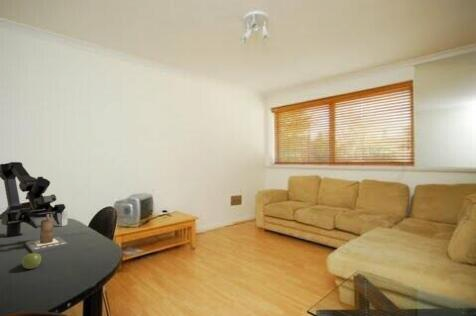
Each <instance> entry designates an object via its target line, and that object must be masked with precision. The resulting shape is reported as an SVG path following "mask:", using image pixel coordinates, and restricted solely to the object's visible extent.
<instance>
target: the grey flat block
mask: <svg viewBox="0 0 476 316" xmlns="http://www.w3.org/2000/svg"><path fill="white" fill-rule="evenodd" d="M25 245H26V246H27V248H28V249H29V250H30V251H31V253H41V252H45V251H50V250H56V249H59V248H65V247H68V246H69V243H68V242H67V241H65V240H64V239H63V238H62V237H60V236H53V242H51V243H45V244H41V243H40V239H37V240H30V241H26V242H25Z"/></svg>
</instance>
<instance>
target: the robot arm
mask: <svg viewBox="0 0 476 316" xmlns="http://www.w3.org/2000/svg"><path fill="white" fill-rule="evenodd" d="M0 179H1V180H3V183H4V188H5V196H6V201H7V207H6V209H5V211H4V216H3V217H2V219H1V220H0V221H1V225H3V226H6V230H5V231H6V233H5V234H4V236H5V237H6V238H11V237H16V236H22V235H23V233H22V231H21V230H22V224H23V223H26V224H27V225H29V226H31V227H32V228H34V229H38V223H37V222H36V219H35V217H34V215H35V216H36V215H43V214H51V213H52V215H53V218H54V220H55V221H56V223H57V224H60V214H62V212H63V211H65V210H66V208H67V207H66V205H65V203H58V204H54V206H53V207H50V206H51V203H54V202H56V201H57V196H56V195H55V194H50V195H43V194H45V193H46V192H47V190H48V188H49V186H50V185H51V181H50V180H48V179H47V178H44V177H43V176H37V178H36V177H33V176H31V175H30V173H29V172H28V171H27V169H26V168H25V167H24V165H23V162H20V161H11V162H8V163H0ZM17 181H19V184H18V186H17ZM18 188H19V189H20V191H21V192H23V193H25V192H27V193H26V196H25V200H28V202H29V204H30V205H29V207H26V205H25V204H22V203H21V201H20V196H19V191H18V190H19V189H18ZM10 236H11V237H10Z"/></svg>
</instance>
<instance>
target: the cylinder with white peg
mask: <svg viewBox="0 0 476 316" xmlns="http://www.w3.org/2000/svg"><path fill="white" fill-rule="evenodd" d="M45 215H46V216H45V217H46V218H45V219H42V220H41V221H40V234H39V235H40V238H39V240H40V243H41V244H45V243H51V242H53V237H54V226H53V225H54V220H50V213H45Z"/></svg>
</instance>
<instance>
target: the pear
mask: <svg viewBox="0 0 476 316" xmlns="http://www.w3.org/2000/svg"><path fill="white" fill-rule="evenodd" d="M41 261H42V256H41V254H40V253H39V252H36V253H33V252H31V253H29V254H26V255H25V256H24V257H22V261H21V265H22V267H23V268H25V270H26V269H28V270H32V269H35V268H37V267H39V266H40V263H41Z"/></svg>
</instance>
